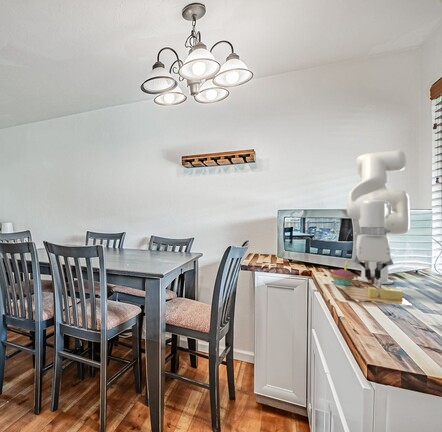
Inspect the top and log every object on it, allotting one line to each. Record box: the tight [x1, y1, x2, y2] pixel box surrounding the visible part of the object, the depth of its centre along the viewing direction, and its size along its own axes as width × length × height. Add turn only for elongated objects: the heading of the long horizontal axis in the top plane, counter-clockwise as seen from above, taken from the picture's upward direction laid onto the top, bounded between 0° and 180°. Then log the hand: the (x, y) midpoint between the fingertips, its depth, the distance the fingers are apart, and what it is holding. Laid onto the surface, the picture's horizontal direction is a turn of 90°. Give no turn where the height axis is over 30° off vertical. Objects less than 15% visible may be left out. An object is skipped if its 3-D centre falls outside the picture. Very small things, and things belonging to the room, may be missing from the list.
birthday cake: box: [329, 258, 355, 286], centre depth 137 cm, size 9×8×12 cm
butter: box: [377, 287, 404, 300], centre depth 113 cm, size 4×6×3 cm, turn 60°
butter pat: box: [367, 286, 378, 298], centre depth 116 cm, size 4×2×3 cm, turn 150°
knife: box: [366, 274, 382, 289], centre depth 119 cm, size 20×2×3 cm, turn 151°
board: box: [343, 286, 412, 306], centre depth 118 cm, size 22×16×1 cm
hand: (372, 279), depth 122 cm, fingers closed on knife, 1 cm apart
